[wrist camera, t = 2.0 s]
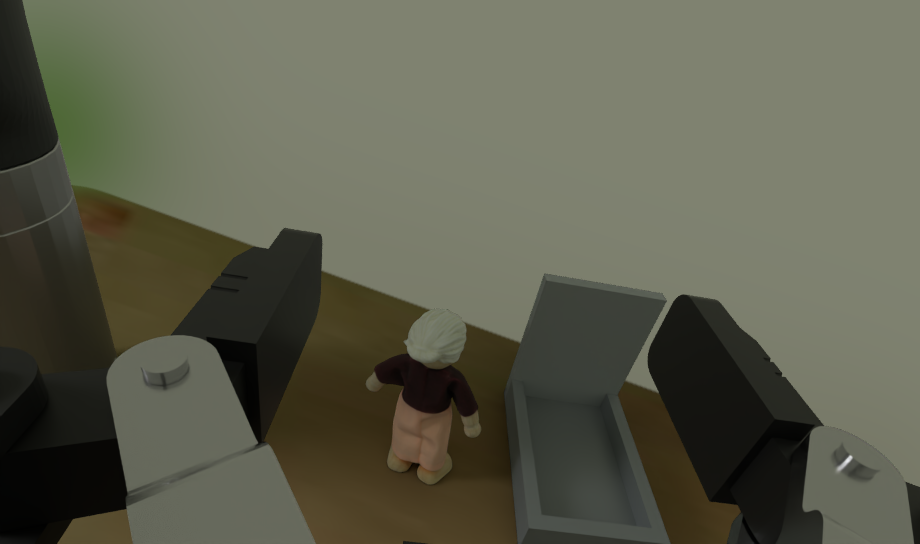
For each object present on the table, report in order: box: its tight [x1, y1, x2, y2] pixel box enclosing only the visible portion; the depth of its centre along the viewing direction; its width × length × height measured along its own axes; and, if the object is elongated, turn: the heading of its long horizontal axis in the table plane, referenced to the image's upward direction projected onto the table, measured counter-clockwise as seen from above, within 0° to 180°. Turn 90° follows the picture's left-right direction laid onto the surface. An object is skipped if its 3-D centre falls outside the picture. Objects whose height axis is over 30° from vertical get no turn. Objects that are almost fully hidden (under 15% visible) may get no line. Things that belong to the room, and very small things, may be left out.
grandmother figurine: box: [366, 309, 481, 485], centre depth 29 cm, size 8×4×13 cm, turn 81°
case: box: [504, 274, 670, 544], centre depth 32 cm, size 9×13×12 cm
